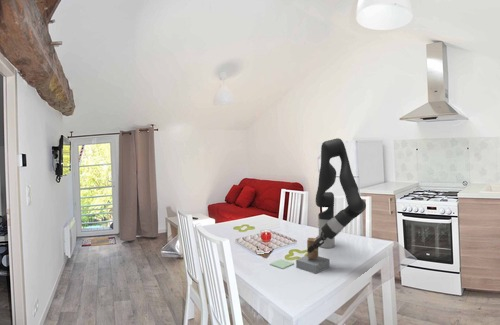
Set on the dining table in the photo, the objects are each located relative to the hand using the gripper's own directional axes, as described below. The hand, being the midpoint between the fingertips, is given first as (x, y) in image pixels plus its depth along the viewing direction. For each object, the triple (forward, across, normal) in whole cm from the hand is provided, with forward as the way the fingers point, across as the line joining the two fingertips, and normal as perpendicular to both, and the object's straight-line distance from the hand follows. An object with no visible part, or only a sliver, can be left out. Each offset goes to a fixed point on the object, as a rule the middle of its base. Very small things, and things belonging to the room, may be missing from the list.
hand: (309, 249), depth 166 cm
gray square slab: (+5, 0, +8) cm, 9 cm away
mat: (+16, 0, -4) cm, 17 cm away
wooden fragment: (+27, -20, -13) cm, 36 cm away
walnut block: (+1, 0, +4) cm, 4 cm away
